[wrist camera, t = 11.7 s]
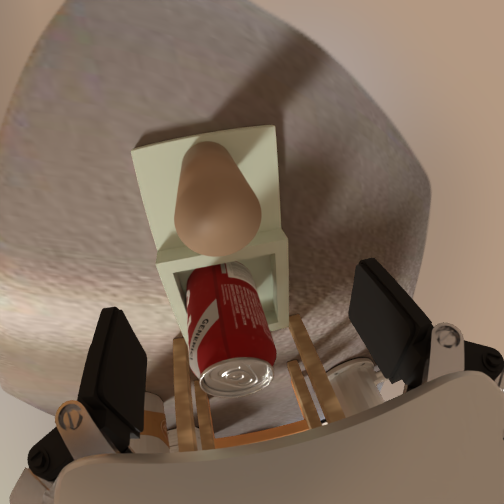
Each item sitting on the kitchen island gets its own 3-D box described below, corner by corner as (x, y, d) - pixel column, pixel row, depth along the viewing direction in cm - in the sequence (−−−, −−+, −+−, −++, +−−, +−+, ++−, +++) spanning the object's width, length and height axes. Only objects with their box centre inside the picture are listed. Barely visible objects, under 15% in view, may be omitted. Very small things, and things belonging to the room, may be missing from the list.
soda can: (225, 240, 26) (250, 341, 16) (263, 282, 29) (297, 376, 20) (172, 277, 27) (171, 381, 17) (213, 313, 30) (228, 408, 21)
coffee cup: (172, 409, 42) (179, 483, 29) (129, 408, 40) (129, 481, 28) (164, 388, 37) (170, 475, 25) (115, 387, 36) (112, 471, 23)
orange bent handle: (299, 376, 43) (318, 425, 34) (299, 380, 43) (317, 428, 35) (198, 397, 41) (205, 450, 32) (200, 401, 41) (207, 452, 33)
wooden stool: (298, 313, 34) (353, 434, 19) (296, 364, 40) (332, 459, 26) (173, 339, 32) (181, 472, 18) (196, 385, 38) (210, 486, 24)
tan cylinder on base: (271, 124, 21) (335, 151, 12) (281, 309, 32) (312, 387, 23) (133, 148, 19) (86, 195, 10) (187, 328, 31) (194, 412, 22)
